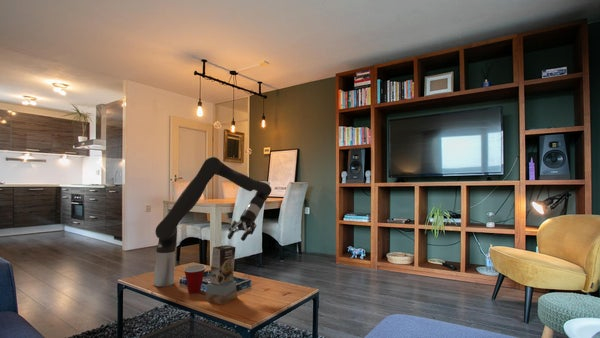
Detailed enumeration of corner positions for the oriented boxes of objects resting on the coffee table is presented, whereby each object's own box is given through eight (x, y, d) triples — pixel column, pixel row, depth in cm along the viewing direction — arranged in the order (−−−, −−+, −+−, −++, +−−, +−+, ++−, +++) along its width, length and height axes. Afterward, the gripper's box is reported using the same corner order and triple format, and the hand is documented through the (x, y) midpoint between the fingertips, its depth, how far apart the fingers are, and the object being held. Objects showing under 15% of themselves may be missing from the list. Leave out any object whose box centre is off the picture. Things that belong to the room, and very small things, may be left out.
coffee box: (218, 285, 142) (221, 249, 143) (209, 282, 146) (212, 247, 146) (233, 280, 150) (236, 246, 150) (223, 277, 153) (226, 244, 154)
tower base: (205, 301, 145) (205, 292, 145) (221, 294, 153) (221, 286, 154) (221, 305, 140) (222, 296, 140) (236, 298, 148) (237, 290, 149)
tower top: (206, 293, 144) (206, 284, 144) (218, 287, 153) (219, 278, 153) (224, 296, 140) (224, 286, 141) (235, 289, 149) (236, 281, 149)
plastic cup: (177, 293, 153) (178, 268, 154) (191, 287, 163) (192, 263, 164) (196, 296, 150) (197, 270, 150) (209, 289, 160) (210, 265, 161)
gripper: (236, 208, 167) (220, 233, 157) (258, 210, 161) (243, 235, 150) (242, 218, 172) (227, 242, 161) (264, 219, 165) (250, 245, 154)
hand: (235, 239), depth 155 cm, fingers open, 8 cm apart
